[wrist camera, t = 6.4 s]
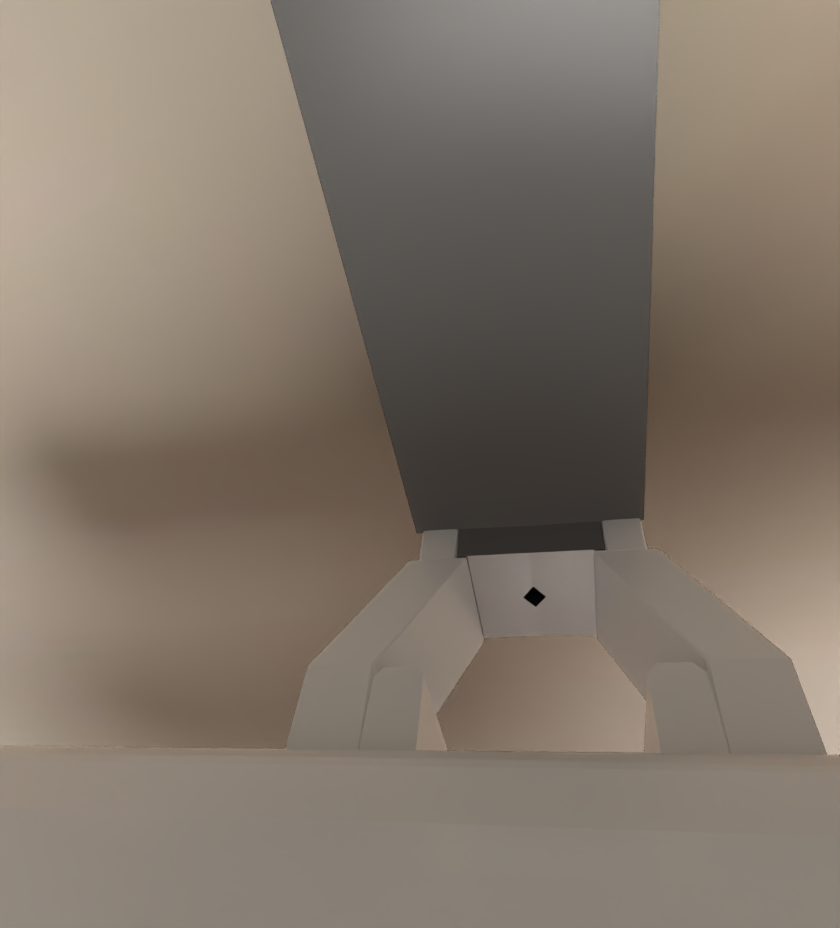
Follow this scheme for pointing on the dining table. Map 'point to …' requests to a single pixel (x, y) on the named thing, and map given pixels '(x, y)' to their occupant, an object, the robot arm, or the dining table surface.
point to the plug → (493, 239)
